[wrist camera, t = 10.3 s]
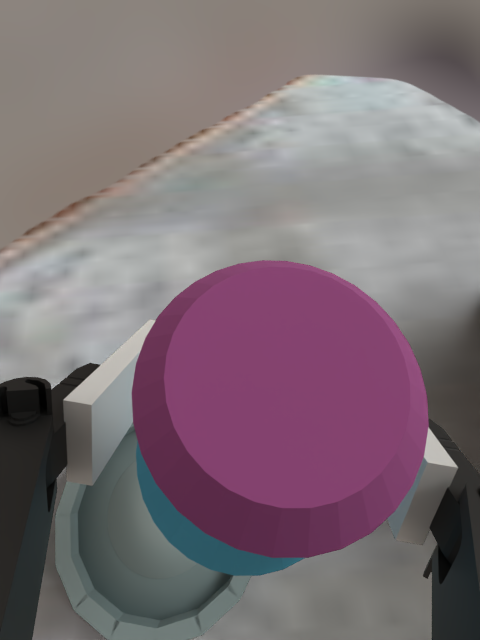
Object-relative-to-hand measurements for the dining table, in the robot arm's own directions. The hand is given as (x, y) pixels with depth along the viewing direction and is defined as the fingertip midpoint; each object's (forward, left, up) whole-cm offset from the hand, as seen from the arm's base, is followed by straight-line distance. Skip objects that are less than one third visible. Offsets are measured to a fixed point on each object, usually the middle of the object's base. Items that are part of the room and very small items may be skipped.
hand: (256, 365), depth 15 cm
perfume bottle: (+3, 0, -5) cm, 6 cm away
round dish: (+8, -6, -20) cm, 22 cm away
